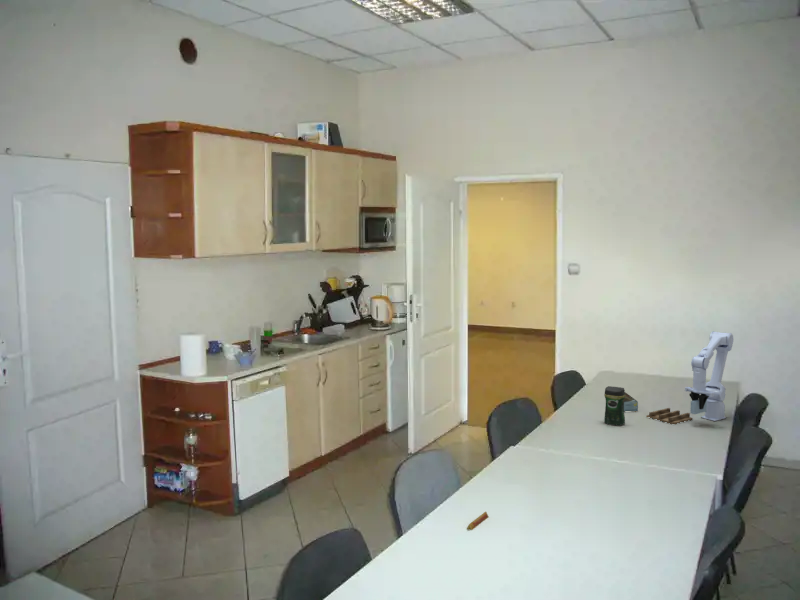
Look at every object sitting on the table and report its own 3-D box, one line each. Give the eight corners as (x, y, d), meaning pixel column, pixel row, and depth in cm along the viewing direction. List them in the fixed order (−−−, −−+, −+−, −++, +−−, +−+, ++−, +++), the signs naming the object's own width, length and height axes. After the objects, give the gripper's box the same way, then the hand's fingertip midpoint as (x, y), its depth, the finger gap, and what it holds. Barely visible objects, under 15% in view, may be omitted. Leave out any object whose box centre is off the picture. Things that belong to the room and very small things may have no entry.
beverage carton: (623, 412, 361) (623, 400, 360) (611, 403, 380) (611, 391, 379) (638, 412, 361) (638, 400, 360) (625, 403, 380) (625, 391, 379)
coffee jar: (626, 423, 341) (627, 386, 339) (621, 427, 335) (622, 389, 333) (607, 420, 347) (607, 384, 345) (602, 424, 340) (602, 387, 338)
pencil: (489, 518, 235) (489, 512, 235) (472, 531, 225) (472, 524, 225) (482, 516, 236) (482, 510, 236) (465, 529, 226) (465, 523, 226)
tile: (701, 410, 339) (702, 398, 338) (706, 411, 336) (706, 399, 336) (690, 413, 334) (690, 401, 333) (695, 414, 332) (695, 402, 331)
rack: (665, 412, 358) (665, 407, 358) (692, 419, 345) (692, 414, 344) (646, 417, 350) (646, 411, 350) (673, 424, 337) (673, 418, 336)
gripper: (681, 379, 338) (680, 406, 339) (707, 384, 325) (707, 412, 327) (690, 377, 341) (689, 404, 343) (716, 382, 329) (716, 410, 330)
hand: (698, 408), depth 335 cm, fingers closed on tile, 2 cm apart
